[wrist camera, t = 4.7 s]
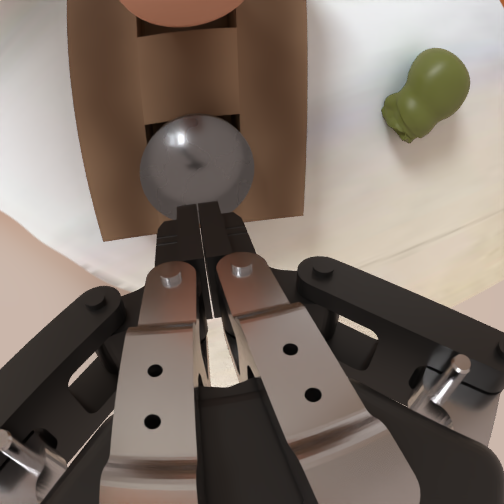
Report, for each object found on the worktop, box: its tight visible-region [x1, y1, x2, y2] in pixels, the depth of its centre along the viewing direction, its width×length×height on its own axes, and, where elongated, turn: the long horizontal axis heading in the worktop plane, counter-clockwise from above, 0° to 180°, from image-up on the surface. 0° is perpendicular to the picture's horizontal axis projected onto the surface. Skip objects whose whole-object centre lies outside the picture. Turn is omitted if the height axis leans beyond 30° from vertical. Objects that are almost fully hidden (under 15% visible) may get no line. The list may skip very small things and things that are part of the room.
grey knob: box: [140, 113, 254, 224], centre depth 19 cm, size 6×6×6 cm
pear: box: [381, 48, 470, 143], centre depth 21 cm, size 6×5×10 cm
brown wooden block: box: [67, 0, 307, 242], centre depth 17 cm, size 14×20×5 cm
